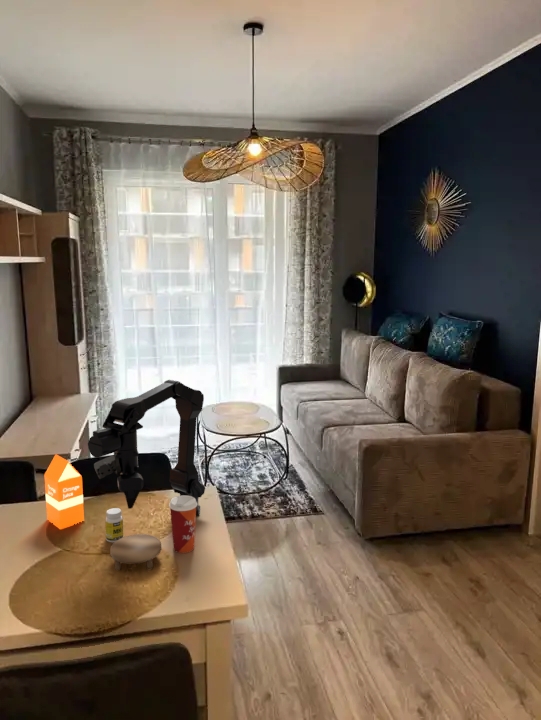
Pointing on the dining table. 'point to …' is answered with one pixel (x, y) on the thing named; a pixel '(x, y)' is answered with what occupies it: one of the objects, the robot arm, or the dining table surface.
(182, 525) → the paper cup
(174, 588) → the dining table surface
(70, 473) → the orange juice
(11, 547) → the dining table surface
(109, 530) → the supplement bottle
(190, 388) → the robot arm
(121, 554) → the stool
